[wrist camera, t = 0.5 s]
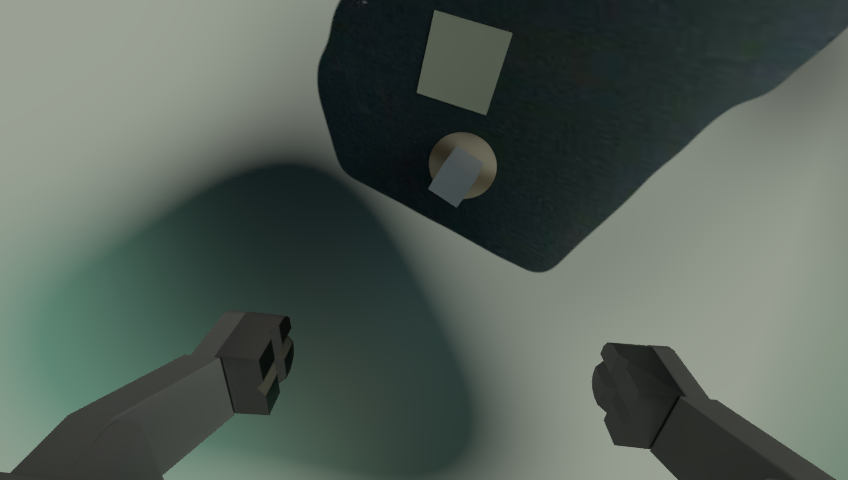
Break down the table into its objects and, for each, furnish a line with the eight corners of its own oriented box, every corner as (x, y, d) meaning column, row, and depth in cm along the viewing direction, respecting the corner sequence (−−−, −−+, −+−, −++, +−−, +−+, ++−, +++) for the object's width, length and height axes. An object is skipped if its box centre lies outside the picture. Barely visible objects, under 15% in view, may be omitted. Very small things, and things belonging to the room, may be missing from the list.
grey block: (456, 145, 54) (445, 161, 48) (483, 163, 55) (475, 181, 49) (440, 170, 57) (427, 188, 51) (466, 187, 57) (456, 207, 51)
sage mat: (434, 10, 47) (434, 10, 47) (512, 33, 46) (512, 33, 46) (417, 92, 53) (416, 92, 52) (486, 114, 51) (485, 115, 51)
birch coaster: (438, 122, 54) (438, 123, 54) (506, 145, 53) (506, 145, 52) (422, 185, 59) (422, 186, 59) (483, 207, 58) (483, 207, 58)
